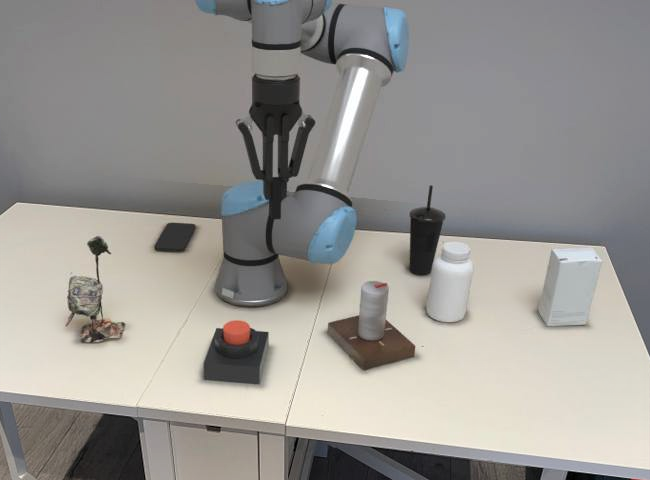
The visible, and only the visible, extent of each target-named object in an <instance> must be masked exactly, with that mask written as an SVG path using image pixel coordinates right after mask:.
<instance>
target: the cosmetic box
mask: <svg viewBox="0 0 650 480" xmlns="http://www.w3.org/2000/svg"><path fill="white" fill-rule="evenodd" d="M602 264H603V260H602V258H601V257H600V256H599V254H597V252H596V251H595V250H594V248H593V247H592V246H589V247H567V248H566V247H565V248H551V250H550V255H549V259H548V264H547V268H546V274H545V279H544V283H543V287H542V293H541V296H540V297H541V298H540V301H539V302H540V303H539V306H538V314H539V315H540V317H541V318H542V320H543V322H544V324H545V325H546V326H547V327H560V326H562V327H563V326H585V325H587V322H588V318H589V314H590V312H591V311H590V310H591V307H592V303H593V299H594V295H595V291H596V287H597V284H598V279H599V276H600V272H601V269H602Z"/></svg>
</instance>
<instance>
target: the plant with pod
mask: <svg viewBox="0 0 650 480" xmlns="http://www.w3.org/2000/svg"><path fill="white" fill-rule="evenodd" d="M86 245H87V247H88V248H89V250H90V252H91V254H92V255H94V256H95V258H94V259H95V260H94V261H95V264H96V265H95V267H96V268H95V269H96V271H95V272H96V278H93V277H90V276H83V275H73V276H70V278H69V281H68V289H67V294H68V295H67V296H66V297H67V298H66V299H67V308H68V311H69V312H71V313H70V315H69V317H68V318H67V321H66V322H65V324H64V327H68V326H69V324H70V323H71V321H72V319H74V316H75V315H78V316H85V317H88V318H89V319H90V321H91V323H86V324H84V325H82V327H81V331H80V332H81V333H80V339H79V341H80V342H82V343H99V342H102V341H104V340H105V339H107V340H110V339H111V338H112V339H114V338H115V339H121V337H123V334H124V333H123V332H124V331H125V326H126V323H125V322H123V321H121V322H120V321H119V322H114V321H112V320H111V318H104V315H103V305H102V299H103V297H102V295H103V294H104V293H103V292H104V289H103V287H104V286H103V283H102V282H101V281H100V274H99V273H100V272H99V256H100V255H101V254H104V253H107V254H108V255H112V252H110V250H109V245H108V244H107V242H106V241H105V239H104V238H103V237H102V236H101V235H96V236H94V237H92V238H90V239H89V240H88V241H87V244H86ZM69 274H70V275H72V274H73V272H70V273H69ZM99 314H100V315H101V319H98V315H99Z"/></svg>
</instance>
